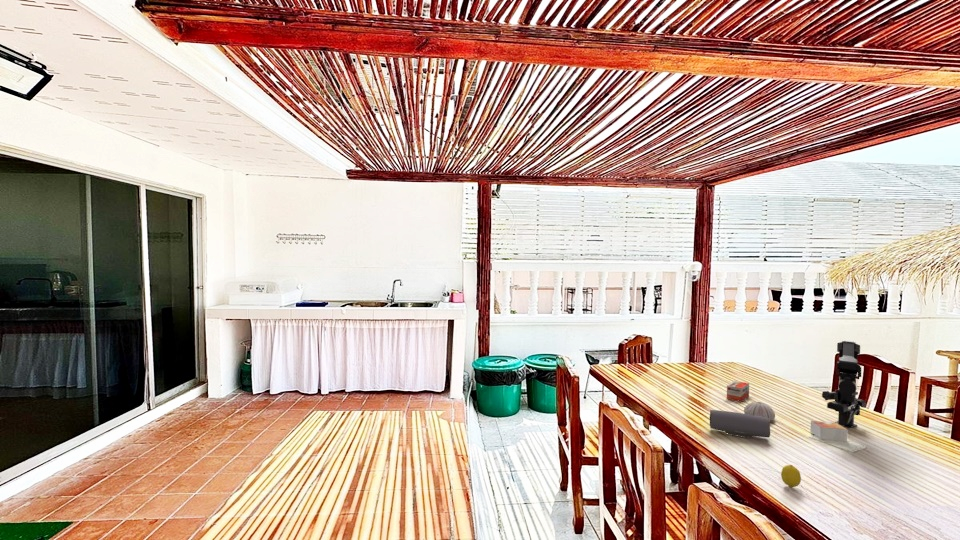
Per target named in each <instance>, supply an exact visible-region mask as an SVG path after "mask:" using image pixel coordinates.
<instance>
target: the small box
mask: <svg viewBox="0 0 960 540" xmlns="http://www.w3.org/2000/svg"><path fill="white" fill-rule="evenodd" d="M809 431H810V433H811V434H812V435H813V436H814V435H815V436H817V437H818V438H820V439H824V440H835V441H848V428H847V427H845V426H842V425H839V424H838V423H835V422H830V421H820V420H819V421H817V420H810V430H809Z"/></svg>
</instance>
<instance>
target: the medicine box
mask: <svg viewBox="0 0 960 540" xmlns="http://www.w3.org/2000/svg"><path fill="white" fill-rule="evenodd" d="M749 396H750V383H748V382H743V381H739V380H738V381H737V380H733V381H731V382H730V383H728V384H727V385H726V399H727V400H733V401H738V402H741V403H742V402H743V401H745V400H746V399H747V398H748V397H749Z"/></svg>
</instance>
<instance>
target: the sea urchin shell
mask: <svg viewBox="0 0 960 540" xmlns="http://www.w3.org/2000/svg"><path fill="white" fill-rule="evenodd" d="M743 412H744V414H749V415H755V416H761V417H765V418H769V421H770V422H771V421H772V422H773V421H774V420H775V418H776V413H775V411H774V409H773V408H772V407H771V406H770V405H769V404H767V403H765V402H762V401H752V402H749V403H748V404H747V405H745V407H744V408H743Z"/></svg>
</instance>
